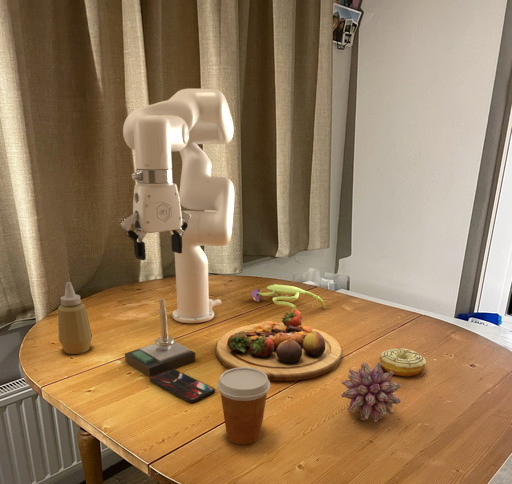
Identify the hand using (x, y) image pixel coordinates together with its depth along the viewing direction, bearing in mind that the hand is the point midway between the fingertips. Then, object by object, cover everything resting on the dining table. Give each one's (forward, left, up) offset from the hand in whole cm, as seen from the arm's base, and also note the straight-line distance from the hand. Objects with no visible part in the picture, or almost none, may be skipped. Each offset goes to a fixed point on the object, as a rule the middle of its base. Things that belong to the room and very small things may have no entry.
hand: (159, 255), depth 114 cm
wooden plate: (-24, +16, -26) cm, 39 cm away
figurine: (-53, -9, -26) cm, 60 cm away
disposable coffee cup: (+7, +37, -26) cm, 46 cm away
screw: (0, 0, -24) cm, 24 cm away
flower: (-16, +49, -26) cm, 58 cm away
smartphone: (+5, +14, -26) cm, 30 cm away
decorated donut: (-40, +42, -26) cm, 63 cm away
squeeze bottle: (+13, -20, -26) cm, 36 cm away
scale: (+1, 0, -26) cm, 26 cm away
